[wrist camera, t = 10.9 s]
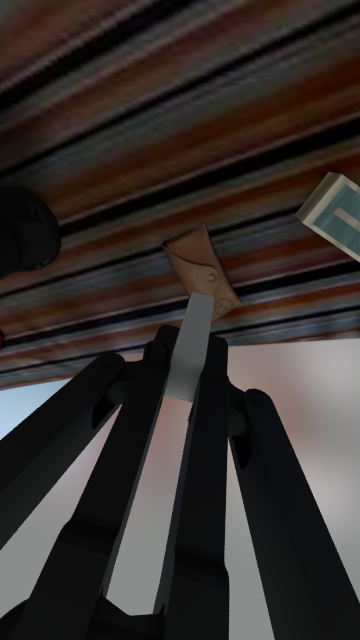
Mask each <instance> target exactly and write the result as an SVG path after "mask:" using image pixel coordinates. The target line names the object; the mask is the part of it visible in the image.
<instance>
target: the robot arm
mask: <svg viewBox="0 0 360 640" xmlns="http://www.w3.org/2000/svg"><path fill="white" fill-rule="evenodd" d="M60 246H61V235H60V230H59V227H58V224H57V221H56V219H55V217H54V215H53V214H52V212H51V211H50V209H49V208H48V207H47V205H46V204H45V203H44V202H43V201H42V200H41V199H40V198H38V197H37V196H36V195H34V194H33V193H31V192H29V191H27V190H25V189H23V188H19V187H14V186H7V187H0V280H1V279H3V278H4V277H6V276H8V275H10V274H12V273H14V272H27V271H36V270H39V269H42V268H44V267H46V266H47V265H49V264H51V263H52V262H53V261H54V260H55V259H56V257H57V256H58V253H59V251H60ZM214 298H215V297H211V296H207V295H202V294H198V293H194V292H192V294H191V297H190V300H189V303H188V306H187V310H186V313H185V316H184V319H183V322H182V325H181V328H178V327H174V326H171V325H167V324H164V325H163V326H161V327H160V328H159V329H158V332H157V334H156V336H155V339H154V340H152V341H150V342H147V343H146V345H145V347H144V354H143V359H142V360H140V361H133V362H128V361H125V360H124V358H123V357H122V356H121V355H119V354H116V353H104V354H101V355H100V356H98V357H97V358H96V359H95V360H93V361H92V362H91V363H90V364H89V365H88V366H86V367H85V368H84V369H83V370H82V371H81V372H79V373H78V374H77V375H76V376H75V377H74V378H72V379H71V380H70V381H69V382H68V383H67V384H66V385H64V386H63V387H62V388H61V389H60V390H58V391H57V392H56V393H55V394H54V395H53V396H51V397H50V398H49V399H48V400H47V401H46V402H45V403H43V404H42V405H41V406H40V407H39V408H37V409H36V410H35V411H34V412H33V413H32V414H30V415H29V416H28V417H27V418H26V419H25V420H23V421H22V422H21V423H20V424H19V425H18V426H17V427H15V428H14V429H13V430H12V431H11V432H9V433H8V434H7V435H6V436H5V437H3V438H2V439H1V440H0V550H1V549H2V548H3V546H4V545H5V544H6V543H7V541H8V540H9V539H10V538H11V537H12V536H13V534H14V533H15V532H16V531H17V530H18V528H19V527H20V526H21V525H22V524H23V522H24V521H25V520H26V519H27V518H28V516H29V515H30V514H31V513H32V511H33V510H34V509H35V508H36V507H37V505H38V504H39V503H40V502H41V501H42V499H43V498H44V497H45V496H46V494H47V493H48V492H49V491H50V490H51V488H52V487H53V486H54V485H55V484H56V483H57V481H58V480H59V479H60V478H61V476H62V475H63V474H64V473H65V472H66V470H67V469H68V468H69V467H70V466H71V464H72V463H73V462H74V461H75V460H76V458H77V457H78V456H79V455H80V454H81V452H82V451H83V450H84V449H85V447H86V446H87V445H88V444H89V443H90V441H91V440H92V439H93V437H95V435H96V434H97V433H98V432H99V431H100V429H101V428H102V427H103V426H104V425H105V423H106V422H107V421H108V419H110V417H111V416H112V415H113V414H114V413H115V411H116V410H117V409H118V408H119V406H120V404H122V406H121V409H120V411H119V413H118V416H117V418H116V420H115V422H114V424H113V427H112V429H111V431H110V433H109V435H108V438H107V440H106V442H105V444H104V447H103V449H102V451H101V453H100V456H99V458H98V460H97V462H96V464H95V467H94V469H93V471H92V473H91V476H90V478H89V480H88V482H87V485H86V487H85V489H84V491H83V494H82V496H81V498H80V500H79V502H78V504H77V507H76V509H75V511H74V513H73V515H72V517H71V519H70V520H69V521H68V522H67V523H66V524H65V525H64V527H63V528H62V530H61V531H60V533H59V535H58V537H57V539H56V541H55V543H54V546H53V548H52V550H51V552H50V554H49V556H48V559H47V561H46V563H45V565H44V567H43V569H42V572H41V574H40V576H39V578H38V580H37V582H36V585H35V587H34V589H33V591H32V593H31V595H30V597H29V598H28V599H27V600H25V601H23V602H21V603H20V604H19V605H17V606H15V607H14V608H13V609H11V610H10V611H9V612H7V613H6V614H5V615H4V616H3V617H1V619H0V640H229V576H228V572H227V569H226V567H225V563H224V549H225V547H224V546H225V515H226V483H227V482H226V481H227V450H228V447H227V446H228V439H229V443H230V447H231V452H232V456H233V460H234V464H235V469H236V473H237V478H238V482H239V486H240V490H241V495H242V499H243V504H244V508H245V512H246V517H247V521H248V525H249V530H250V534H251V538H252V543H253V547H254V551H255V556H256V560H257V564H258V568H259V573H260V577H261V582H262V586H263V590H264V594H265V599H266V603H267V608H268V612H269V616H270V621H271V625H272V630H273V634H274V638H275V640H360V603H359V600H358V598H357V596H356V594H355V591H354V589H353V586H352V584H351V582H350V580H349V577H348V575H347V573H346V570H345V568H344V566H343V563H342V561H341V559H340V556H339V554H338V552H337V549H336V547H335V545H334V542H333V540H332V538H331V535H330V533H329V531H328V529H327V526H326V524H325V522H324V519H323V517H322V515H321V512H320V510H319V508H318V505H317V503H316V501H315V499H314V496H313V494H312V491H311V489H310V487H309V484H308V482H307V480H306V477H305V475H304V473H303V471H302V468H301V466H300V464H299V461H298V459H297V457H296V454H295V452H294V450H293V448H292V445H291V443H290V440H289V438H288V436H287V433H286V431H285V429H284V426H283V424H282V422H281V420H280V417H279V415H278V413H277V410H276V408H275V406H274V403H273V401H272V399H271V398H270V397H269V396H268V395H267V394H266V393H265V392H263V391H261V390H258V389H248V390H247V391H246V392H244V391H242V390H240V389H238V388H236V387H235V386H234V385H233V384H231V382H230V381H229V377H228V376H227V362H228V344H227V342H226V340H225V338H221V337H217V336H213V335H209V332H210V325H211V318H212V311H213V305H214ZM164 395H166V396H170V397H173V398H177V399H181V400H184V401H188V402H193V405H192V408H191V411H190V414H189V418H188V421H189V422H188V428H187V434H186V439H185V445H184V451H183V456H182V461H181V467H180V473H179V478H178V484H177V489H176V495H175V501H174V506H173V512H172V517H171V524H170V528H169V535H168V540H167V545H166V551H165V557H164V562H163V568H162V573H161V578H160V584H159V588H158V592H157V596H156V600H155V605H154V610H153V614H148V615H135V616H130V615H127V614H126V613H124V612H123V611H122V610H120V609H119V608H118V607H117V606H115V605H114V604H112V603H111V602H110V601H109V600H108V599H106V595H107V592H108V588H109V584H110V581H111V576H112V573H113V569H114V565H115V562H116V558H117V555H118V551H119V548H120V544H121V541H122V537H123V534H124V531H125V528H126V524H127V521H128V517H129V514H130V511H131V507H132V503H133V500H134V497H135V493H136V490H137V486H138V483H139V480H140V476H141V473H142V469H143V466H144V463H145V459H146V456H147V452H148V449H149V446H150V442H151V439H152V435H153V432H154V428H155V425H156V421H157V418H158V415H159V411H160V408H161V404H162V400H163V396H164Z"/></svg>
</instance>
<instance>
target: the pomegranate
mask: <svg viewBox="0 0 360 640" xmlns="http://www.w3.org/2000/svg"><path fill="white" fill-rule="evenodd" d="M2 340H3V338H2V335H1V333H0V350H1V346H2Z"/></svg>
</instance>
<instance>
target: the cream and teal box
mask: <svg viewBox="0 0 360 640" xmlns="http://www.w3.org/2000/svg"><path fill="white" fill-rule="evenodd" d="M295 216H296V217H297V218H298V219H299V220H300V221H301V222H302V223H304V224H305V225H306V226H308V227H309V228H311V229H312V230H314V231H315V232H317V233H318V234H320V235H321V236H322V237H324V238H325V239H327V240H328V241H330V242H331V243H333V244H334V245H336V246H337V247H338V248H340V249H341V250H343V251H344V252H346V253H347V254H349V255H350V256H351V257H353V258H354V259H356V260H357V261H359V262H360V187H359V186H357V185H356V184H354V183H353V182H352V181H350V180H349V179H348V178H346V177H345V176H344V175H342V174H338V173H332V172H328V174H327V175H326V176H325V177H324V179H323V180H322V181H321V183H320V184H319V185H318V186H317V188H316V189H315V190H314V191H313V193H312V194H311V195H310V197H309V198H308V199H307V200H306V202H305V203H304V204H303V205H302V207H301V208H300V209H299V211H298V212H297V213H296V214H295Z"/></svg>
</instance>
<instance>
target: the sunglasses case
mask: <svg viewBox="0 0 360 640" xmlns="http://www.w3.org/2000/svg"><path fill="white" fill-rule="evenodd" d="M161 246H162V248H163V249H164V251H165V254H166V255H167V257H168V259H169V261H170V263H171V265H172V267H173V269H174V271H175V272H176V274H177V276H178V278H179V279H180V281H181V283H182V285H183V286H184V288H185V290H186V292H187V294H188V295H189V297H191V294H192V292H194V293H198V294H202V295H207V296H211V297H215V298H214V305H213V311H212V318H211V323H212V322H214V321H215V320H217V319H218V318H220V317H222V316H223V315H225V314H226V313H228V312H229V311H231V310H232V309H234V308H236V307H238V306H239V305H242V302H241V300H240V298H239V297H238V295H237V294H236V292H235V291H234V289H233V287H232V285H231V283H230V281H229V279H228V277H227V275H226V273H225V271H224V269H223V267H222V265H221V263H220V261H219V259H218V256H217V254H216V252H215V250H214V247H213V245H212V243H211V240H210V237H209V235H208V232H207V228H206V226H205V224H199V225H198V226H197V227H195V228H193V229H191V230H189V231H187V232H185V233H183V234H181V235H179V236H176V237H175V238H173V239H171V240H169V241H167V242H166V241H164V242H163V243H162V244H161Z"/></svg>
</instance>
